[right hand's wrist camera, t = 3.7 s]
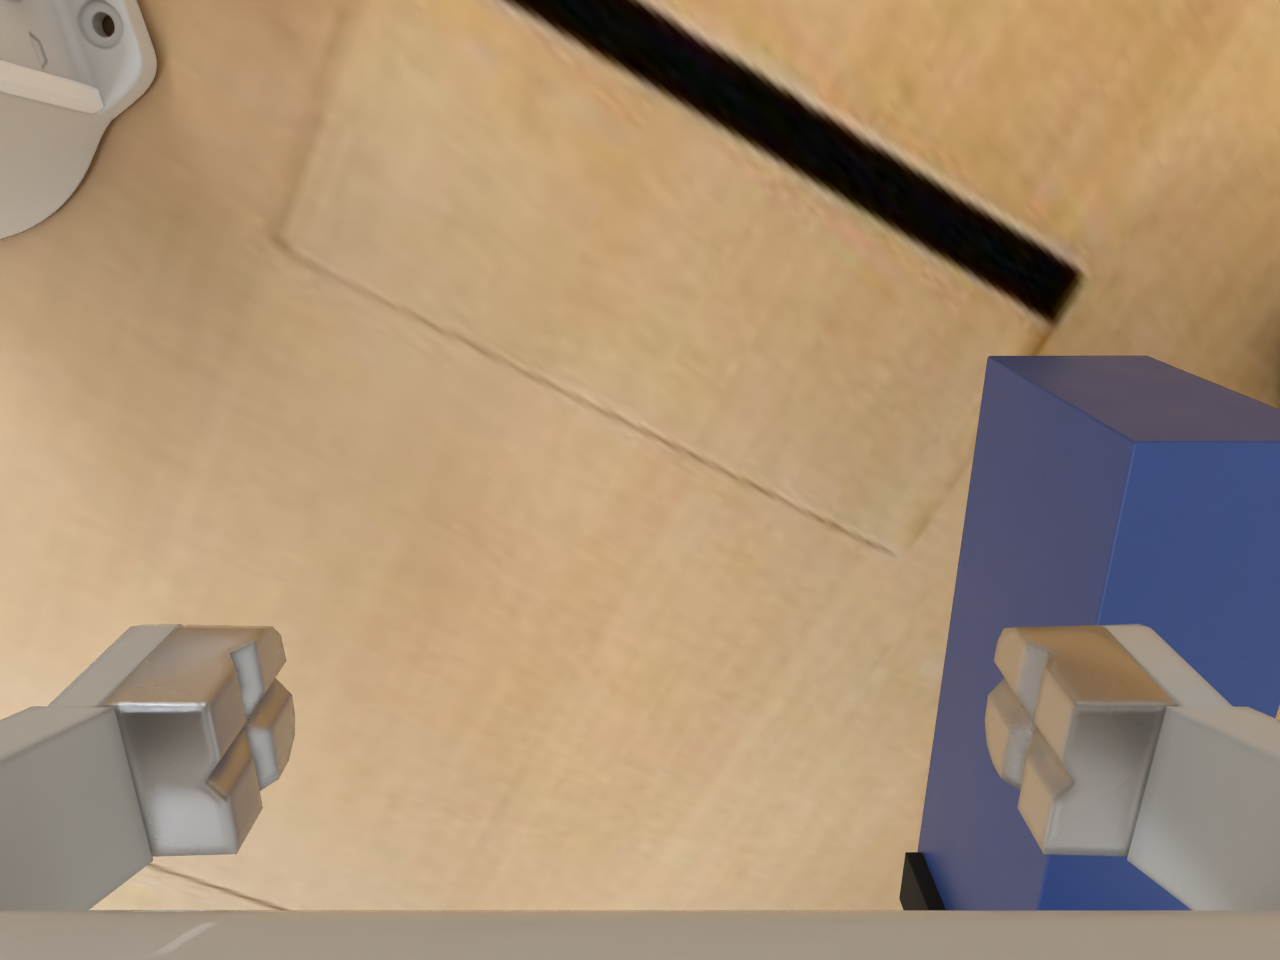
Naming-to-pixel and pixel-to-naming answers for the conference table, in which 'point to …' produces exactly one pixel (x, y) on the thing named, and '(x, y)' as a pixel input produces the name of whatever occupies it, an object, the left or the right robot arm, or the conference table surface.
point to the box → (1098, 586)
